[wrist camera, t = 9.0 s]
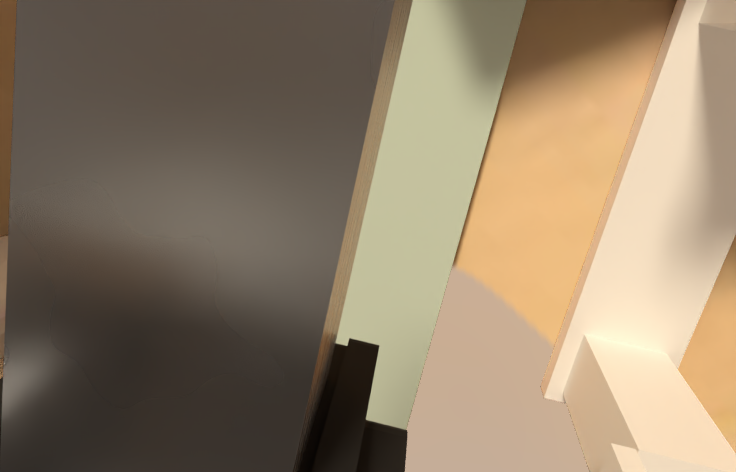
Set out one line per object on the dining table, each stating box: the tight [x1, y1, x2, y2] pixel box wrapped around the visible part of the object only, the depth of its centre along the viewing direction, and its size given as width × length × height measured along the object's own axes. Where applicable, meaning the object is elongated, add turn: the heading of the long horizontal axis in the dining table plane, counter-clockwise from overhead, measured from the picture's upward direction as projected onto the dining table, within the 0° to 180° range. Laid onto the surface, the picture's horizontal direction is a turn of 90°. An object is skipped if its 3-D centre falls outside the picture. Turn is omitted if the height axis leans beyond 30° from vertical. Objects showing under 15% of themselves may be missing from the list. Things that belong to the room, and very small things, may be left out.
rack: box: [541, 0, 736, 472], centre depth 22 cm, size 20×5×10 cm, turn 167°
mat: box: [336, 0, 527, 430], centre depth 27 cm, size 24×10×1 cm, turn 167°
